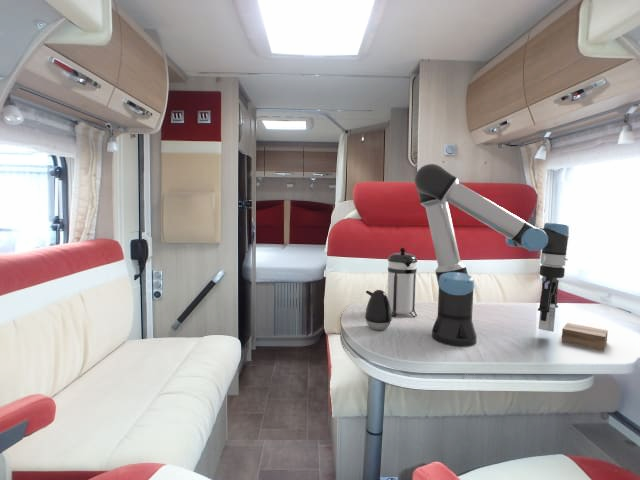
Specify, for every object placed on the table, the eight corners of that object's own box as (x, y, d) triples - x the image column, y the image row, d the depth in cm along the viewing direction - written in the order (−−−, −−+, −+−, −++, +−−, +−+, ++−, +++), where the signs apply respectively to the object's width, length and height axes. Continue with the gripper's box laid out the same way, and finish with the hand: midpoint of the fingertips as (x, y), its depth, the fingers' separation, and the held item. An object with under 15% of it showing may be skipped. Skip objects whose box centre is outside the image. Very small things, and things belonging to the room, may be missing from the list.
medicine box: (553, 332, 126) (556, 308, 125) (538, 329, 128) (541, 305, 127) (553, 326, 132) (555, 303, 132) (539, 324, 135) (541, 301, 134)
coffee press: (424, 313, 161) (427, 247, 159) (407, 320, 150) (409, 250, 147) (391, 306, 173) (393, 245, 171) (372, 312, 161) (374, 246, 159)
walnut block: (603, 351, 120) (605, 337, 120) (561, 342, 128) (562, 328, 128) (606, 344, 127) (607, 330, 127) (566, 335, 135) (567, 322, 135)
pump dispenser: (369, 322, 146) (370, 286, 145) (394, 326, 141) (395, 288, 140) (360, 329, 137) (361, 290, 136) (387, 334, 132) (388, 293, 131)
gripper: (558, 269, 118) (551, 335, 120) (570, 264, 133) (564, 323, 135) (532, 266, 123) (526, 330, 125) (547, 262, 139) (541, 318, 140)
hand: (546, 326), depth 130 cm, fingers closed on medicine box, 8 cm apart
